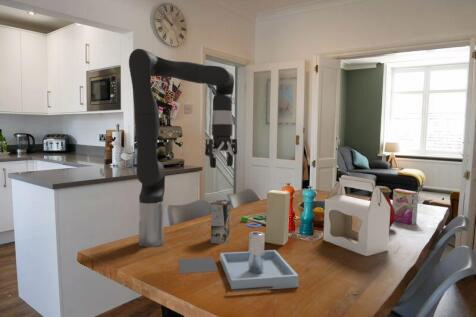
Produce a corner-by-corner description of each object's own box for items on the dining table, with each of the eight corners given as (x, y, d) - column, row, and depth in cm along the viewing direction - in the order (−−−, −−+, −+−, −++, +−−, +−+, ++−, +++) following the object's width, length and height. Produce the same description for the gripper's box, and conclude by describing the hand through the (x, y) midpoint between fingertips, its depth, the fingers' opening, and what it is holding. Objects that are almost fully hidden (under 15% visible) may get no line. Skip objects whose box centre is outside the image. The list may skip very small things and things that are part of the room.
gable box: (322, 240, 146) (325, 174, 144) (343, 235, 153) (346, 173, 151) (367, 256, 127) (370, 182, 125) (388, 250, 134) (392, 179, 132)
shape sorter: (283, 213, 194) (283, 205, 193) (307, 221, 178) (307, 212, 178) (233, 221, 175) (233, 213, 174) (255, 231, 159) (255, 221, 159)
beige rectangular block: (289, 240, 145) (290, 191, 143) (283, 245, 138) (285, 194, 136) (271, 237, 148) (272, 189, 146) (265, 242, 141) (266, 192, 140)
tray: (231, 292, 97) (231, 280, 97) (219, 262, 119) (220, 253, 119) (298, 287, 101) (298, 275, 101) (275, 259, 123) (275, 249, 123)
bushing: (251, 273, 107) (251, 235, 107) (246, 268, 112) (247, 231, 112) (266, 272, 108) (266, 234, 108) (261, 267, 113) (261, 231, 113)
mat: (179, 276, 107) (179, 273, 107) (178, 262, 119) (178, 259, 119) (218, 274, 110) (218, 271, 110) (213, 260, 121) (213, 257, 121)
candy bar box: (390, 220, 181) (392, 189, 180) (396, 218, 184) (397, 188, 182) (411, 225, 172) (413, 192, 170) (416, 223, 174) (418, 192, 173)
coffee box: (225, 244, 138) (226, 205, 137) (210, 243, 139) (210, 204, 138) (230, 237, 147) (231, 200, 146) (216, 236, 148) (216, 199, 147)
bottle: (360, 229, 163) (362, 187, 161) (361, 222, 175) (363, 183, 173) (396, 233, 157) (399, 190, 155) (395, 226, 169) (397, 186, 167)
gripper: (228, 123, 135) (227, 164, 136) (200, 122, 124) (200, 167, 126) (242, 123, 130) (241, 166, 131) (214, 122, 119) (214, 169, 121)
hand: (221, 166), depth 128 cm, fingers open, 8 cm apart
